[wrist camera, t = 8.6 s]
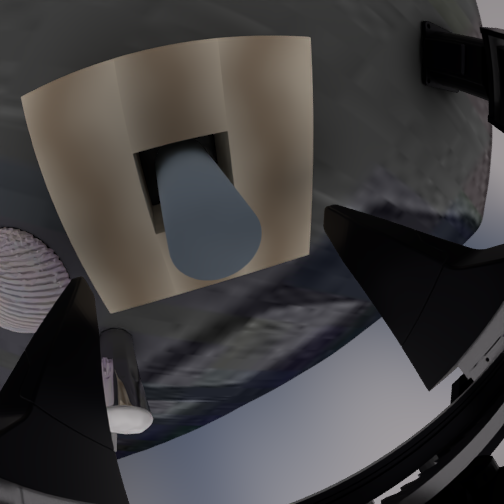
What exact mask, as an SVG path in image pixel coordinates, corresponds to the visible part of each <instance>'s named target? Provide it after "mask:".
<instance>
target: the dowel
mask: <svg viewBox="0 0 504 504" xmlns="http://www.w3.org/2000/svg"><path fill="white" fill-rule="evenodd" d="M155 169H156V177H157V184H158V191H159V197H160V204H161V210H162V216H163V222H164V227H165V233H166V238H167V244H168V249H169V254H170V257H171V260H172V262H173V264H174V265H175V266H176V268H177V269H178V270H179V271H180V272H182V273H183V274H185V275H186V276H189V277H191V278H194V279H198V280H218V279H222V278H225V277H228V276H230V275H232V274H234V273H236V272H238V271H239V270H241V269H242V268H244V267H245V266H246V265H247V264H248V263H249V262H250V261H251V260H252V258H253V257H254V256H255V254H256V252H257V250H258V248H259V246H260V242H261V237H262V230H261V225H260V221H259V219H258V217H257V216H256V214H255V213H254V212H253V210H252V209H251V208H250V206H249V205H248V204H247V202H246V201H245V200H244V199H243V197H242V196H241V195H240V193H239V192H238V191H237V190H236V188H235V187H234V186H233V184H232V183H231V182H230V180H229V179H228V178H227V177H226V175H225V174H224V173H223V172H222V170H221V169H220V168H219V166H218V165H217V164H216V163H215V161H214V160H213V159H212V158H211V156H210V155H209V154H208V152H207V151H206V150H205V149H204V147H203V146H202V145H201V144H200V143H199V142H198V141H196V140H195V139H193V138H191V139H187V140H182V141H178V142H174V143H170V144H166V145H162V146H161V148H160V149H159V151H158V152H157V155H156V158H155Z"/></svg>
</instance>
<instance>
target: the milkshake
mask: <svg viewBox="0 0 504 504" xmlns="http://www.w3.org/2000/svg"><path fill="white" fill-rule="evenodd" d="M100 352H101V365H102V376H103V385H104V393H105V401H106V408H107V414H108V420H109V426H110V431H111V436H112V441H113V446H114V451H115V452H116V451H117V433H121V434H133V433H141V432H143V431H144V430H145V429H147V428H148V427H149V426H150V425H151V424H152V422H153V417H152V414H151V411H150V408H149V405H148V401H147V398H146V395H145V391H144V388H143V386H142V382H141V378H140V374H139V369H138V364H137V360H136V355H135V350H134V344H133V340H132V336H131V335H130V334H129V333H127V332H126V331H124V330H120V329H110V330H106V331H103V333H102V334H101V336H100Z"/></svg>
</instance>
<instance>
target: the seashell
mask: <svg viewBox="0 0 504 504" xmlns="http://www.w3.org/2000/svg"><path fill="white" fill-rule="evenodd" d="M53 252H54V250H52V249H51V248H47V246H46V244H44V243H42V240H39V239H37V238H33V235H32V234H29V233H27V232H26V231H20V229H13V228H6V227H4V228H2V229H0V326H1V327H2V328H5V329H8V330H11V331H14V332H20V333H34V332H36V331H37V329H38V328H39V326H40V324H41V323H42V321H43V320H44V318H45V317H46V315H47V314H48V312H49V311H50V309H51V308H52V306H53V305H54V304H55V302H56V301H57V299H58V298H59V296H60V295H61V294H62V292H63V291H64V289H65V288H66V287H67V285H68V284H69V283H70V281H71V279H69V278H68V277H69V275H68V273H66V268H65V267H64V266H63V263H62V261H60V260H58V259H59V257H58V256H57V255H56V254H53Z"/></svg>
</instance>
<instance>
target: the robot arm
mask: <svg viewBox="0 0 504 504" xmlns="http://www.w3.org/2000/svg"><path fill="white" fill-rule="evenodd" d="M480 32H481V33H482V38H483V39H479V38H475V37H470V36H465V35H460V34H454V33H451V32H449V31H447V30H445V29H443V28H441V27H439V26H437V25H435V24H433V23H431V22H429V21H423V22H422V35H423V77H422V80H423V84H424V85H427V86H431V87H436V88H440V89H444V90H448V91H452V92H456V93H458V92H459V90H460V91H463V92H466V93H469V94H471V95H474V96H477V97H480V98H482V99H485V100H487V101H489V115H488V122H489V123H491V124H492V125H494V126H495V127H496V128H498V129H499V130H500V131H502V132H503V133H504V30H503V29H498V28H488V27H480ZM323 226H324V230H325V232H326V234H327V236H328V237H329V239H330V240H331V242H332V244H333V246H334V247H335V249H336V251H337V252H338V254H339V256H340V257H341V259H342V260H343V262H344V263H345V265H346V266H347V268H348V269H349V270H350V272H351V273H352V274H353V276H354V277H355V279H356V280H357V281H358V283H359V284H360V286H361V287H362V288H363V290H364V291H365V293H366V294H367V296H368V297H369V298H370V300H371V301H372V303H373V304H374V306H375V307H376V309H377V310H378V312H379V313H380V315H381V316H382V318H383V319H384V321H385V322H386V324H387V325H388V327H389V328H390V329H391V331H392V333H393V334H394V336H395V337H396V339H397V340H398V342H399V343H400V345H401V346H402V348H403V350H404V352H405V353H406V355H407V356H408V358H409V360H410V361H411V363H412V364H413V366H414V368H415V369H416V371H417V373H418V374H419V376H420V378H421V379H422V381H423V383H424V385H425V386H426V388H427V389H428V391H430V390H431V389H433V388H434V387H435V386H436V385H438V384H439V383H440V382H441V381H442V380H444V379H445V378H446V377H447V376H448V375H449V374H450V373H452V372H453V371H454V370H455V369H456V368H457V367H459V368H460V369H461V371H462V372H463V373H464V374H463V375H462V376H460V377H459V379H458V380H456V381H455V382H454V383H453V384H452V392H451V404H450V405H449V406H448V407H447V408H446V409H445V410H444V411H443V412H442V413H440V414H439V415H438V416H437V417H436V418H435V419H433V420H432V421H431V422H430V423H428V424H427V425H426V426H425V427H424V428H422V429H421V430H420V431H418V432H417V433H416V434H415V435H413V436H412V437H411V438H409V439H408V440H407V441H405V442H404V443H402V444H401V445H399V446H398V447H397V448H395V449H394V450H392V451H391V452H389V453H388V454H386V455H385V456H383V457H381V458H380V459H378V460H377V461H375V462H374V463H372V464H370V465H369V466H367V467H365V468H363V469H362V470H360V471H358V472H357V473H355V474H353V475H351V476H349V477H347V478H346V479H344V480H342V481H340V482H338V483H336V484H334V485H332V486H330V487H328V488H325V489H323V490H321V491H319V492H317V493H314V494H312V495H310V496H308V497H305V498H303V499H300V500H298V501H296V502H293V503H290V504H374V500H373V499H375V498H377V497H378V496H380V495H382V494H383V493H385V492H386V491H388V490H389V489H391V488H392V487H394V486H395V485H397V484H398V483H400V482H401V481H403V480H404V479H405V478H407V477H408V476H410V475H411V474H412V473H414V472H415V471H416V470H418V469H419V470H420V472H421V473H420V474H419V475H418V476H419V478H418V479H416V480H414V481H412V482H410V483H408V484H405V485H404V486H402V487H401V491H400V492H398V493H397V494H394V495H391V496H389V497H386V498H385V499H383V500H381V504H504V466H503V467H499V466H498V465H497V463H496V461H495V460H494V458H493V456H490V455H491V453H492V452H493V451H494V450H495V449H496V448H497V446H498V445H499V444H500V443H501V441H502V440H503V439H504V244H502V245H498V246H495V247H492V248H488V249H480V250H479V249H472V248H469V247H466V246H463V245H460V244H457V243H453V242H450V241H447V240H444V239H441V238H438V237H435V236H432V235H429V234H426V233H423V232H420V231H417V230H414V229H412V228H409V227H406V226H403V225H400V224H397V223H394V222H391V221H388V220H385V219H382V218H379V217H375V216H372V215H369V214H366V213H363V212H359V211H356V210H353V209H349V208H346V207H343V206H339V205H331V206H327V207H326V208H325V211H324V224H323ZM0 504H129V501H128V498H127V495H126V492H125V489H124V485H123V482H122V478H121V475H120V471H119V467H118V463H117V458H116V454H115V451H114V446H113V441H112V436H111V431H110V426H109V420H108V414H107V408H106V401H105V393H104V385H103V376H102V365H101V352H100V337H99V329H98V322H97V315H96V306H95V298H94V295H93V293H92V291H91V289H90V287H89V286H88V284H87V282H86V281H85V279H84V278H83V277H77V278H74V279H72V280H71V281H70V283H69V284H68V285H67V287H66V288H65V289H64V291H63V292H62V294H61V295H60V296H59V298H58V299H57V301H56V302H55V304H54V305H53V306H52V308H51V309H50V311H49V312H48V314H47V315H46V317H45V318H44V320H43V321H42V323H41V324H40V326H39V328H38V329H37V331H36V332H35V334H34V335H33V337H32V339H31V340H30V342H29V344H28V345H27V347H26V349H25V351H24V352H23V354H22V356H21V357H20V359H19V361H18V362H17V364H16V366H15V368H14V369H13V371H12V373H11V374H10V376H9V378H8V379H7V381H6V383H5V384H4V386H3V388H2V389H1V391H0Z"/></svg>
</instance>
